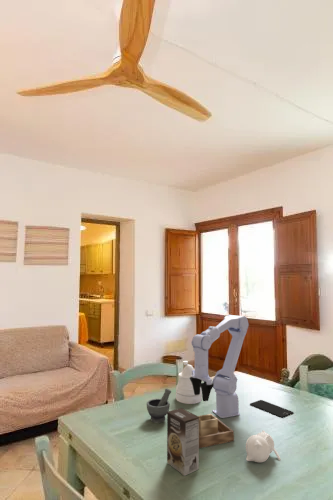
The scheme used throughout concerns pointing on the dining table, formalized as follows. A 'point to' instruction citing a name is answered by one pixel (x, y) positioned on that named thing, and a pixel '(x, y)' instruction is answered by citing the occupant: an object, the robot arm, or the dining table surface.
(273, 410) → the cell phone
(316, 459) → the dining table surface
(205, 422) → the small crate
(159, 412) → the mortar and pestle
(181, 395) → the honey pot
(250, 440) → the cat figurine
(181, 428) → the coffee box
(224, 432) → the large crate
